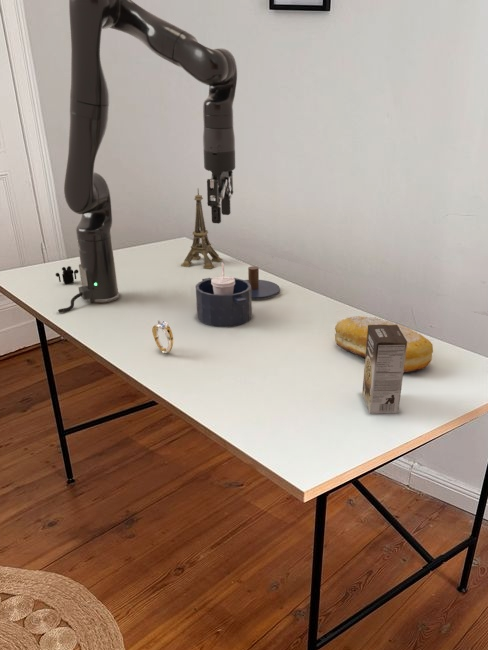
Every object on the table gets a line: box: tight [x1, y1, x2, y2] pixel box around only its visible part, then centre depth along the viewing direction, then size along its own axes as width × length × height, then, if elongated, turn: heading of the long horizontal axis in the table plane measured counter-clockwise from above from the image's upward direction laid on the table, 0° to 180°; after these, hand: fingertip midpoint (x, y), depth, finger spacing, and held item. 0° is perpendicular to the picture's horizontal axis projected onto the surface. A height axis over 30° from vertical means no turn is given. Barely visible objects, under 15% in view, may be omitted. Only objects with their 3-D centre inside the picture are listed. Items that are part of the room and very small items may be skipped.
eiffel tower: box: [180, 189, 223, 270], centre depth 219 cm, size 11×11×25 cm
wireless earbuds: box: [55, 265, 80, 285], centre depth 206 cm, size 7×2×5 cm, turn 124°
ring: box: [151, 319, 174, 354], centre depth 164 cm, size 7×3×8 cm, turn 37°
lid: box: [244, 265, 281, 300], centre depth 201 cm, size 16×16×7 cm
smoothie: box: [211, 262, 235, 295], centre depth 182 cm, size 6×6×14 cm
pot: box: [195, 277, 253, 328], centre depth 184 cm, size 15×20×8 cm
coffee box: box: [361, 324, 407, 415], centre depth 142 cm, size 9×6×16 cm
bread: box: [334, 315, 434, 373], centre depth 164 cm, size 13×26×8 cm, turn 44°
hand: (221, 218), depth 172 cm, fingers open, 8 cm apart
